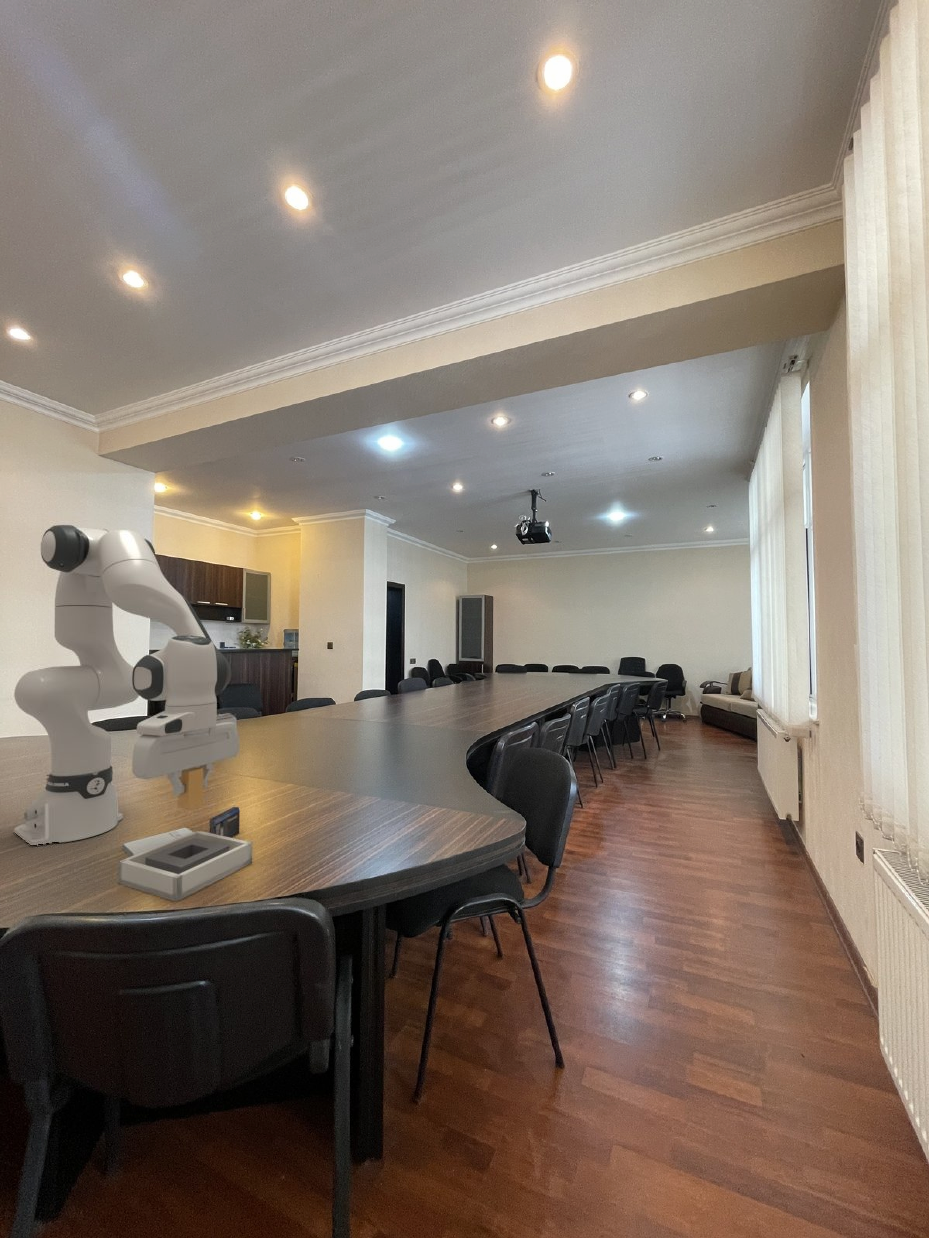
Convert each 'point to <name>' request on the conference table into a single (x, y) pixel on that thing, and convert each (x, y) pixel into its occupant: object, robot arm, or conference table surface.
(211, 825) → the mini dv tape
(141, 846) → the external hard drive
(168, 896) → the walled box
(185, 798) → the tan rectangular block
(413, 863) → the conference table surface
